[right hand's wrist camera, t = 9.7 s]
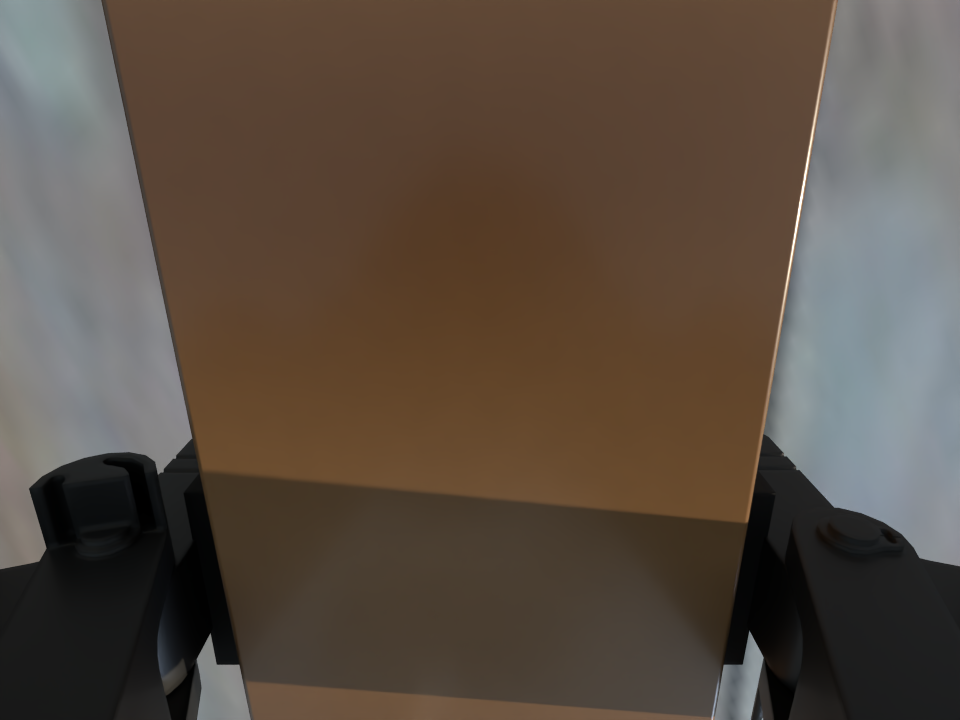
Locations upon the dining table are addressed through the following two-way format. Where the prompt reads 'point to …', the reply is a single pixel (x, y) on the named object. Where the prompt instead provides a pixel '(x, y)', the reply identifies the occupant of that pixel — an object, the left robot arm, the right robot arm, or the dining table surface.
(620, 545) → the post
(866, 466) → the dining table surface
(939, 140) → the dining table surface
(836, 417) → the dining table surface
